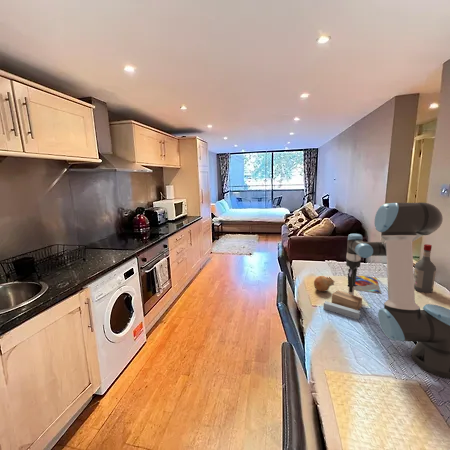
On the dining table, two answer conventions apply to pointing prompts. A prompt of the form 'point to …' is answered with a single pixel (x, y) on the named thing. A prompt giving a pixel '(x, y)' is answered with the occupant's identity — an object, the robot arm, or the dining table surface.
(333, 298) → the block
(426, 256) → the liquor
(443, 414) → the dining table surface
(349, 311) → the grey rectangular bar
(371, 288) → the relief map
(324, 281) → the onion
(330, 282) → the wooden fragment
